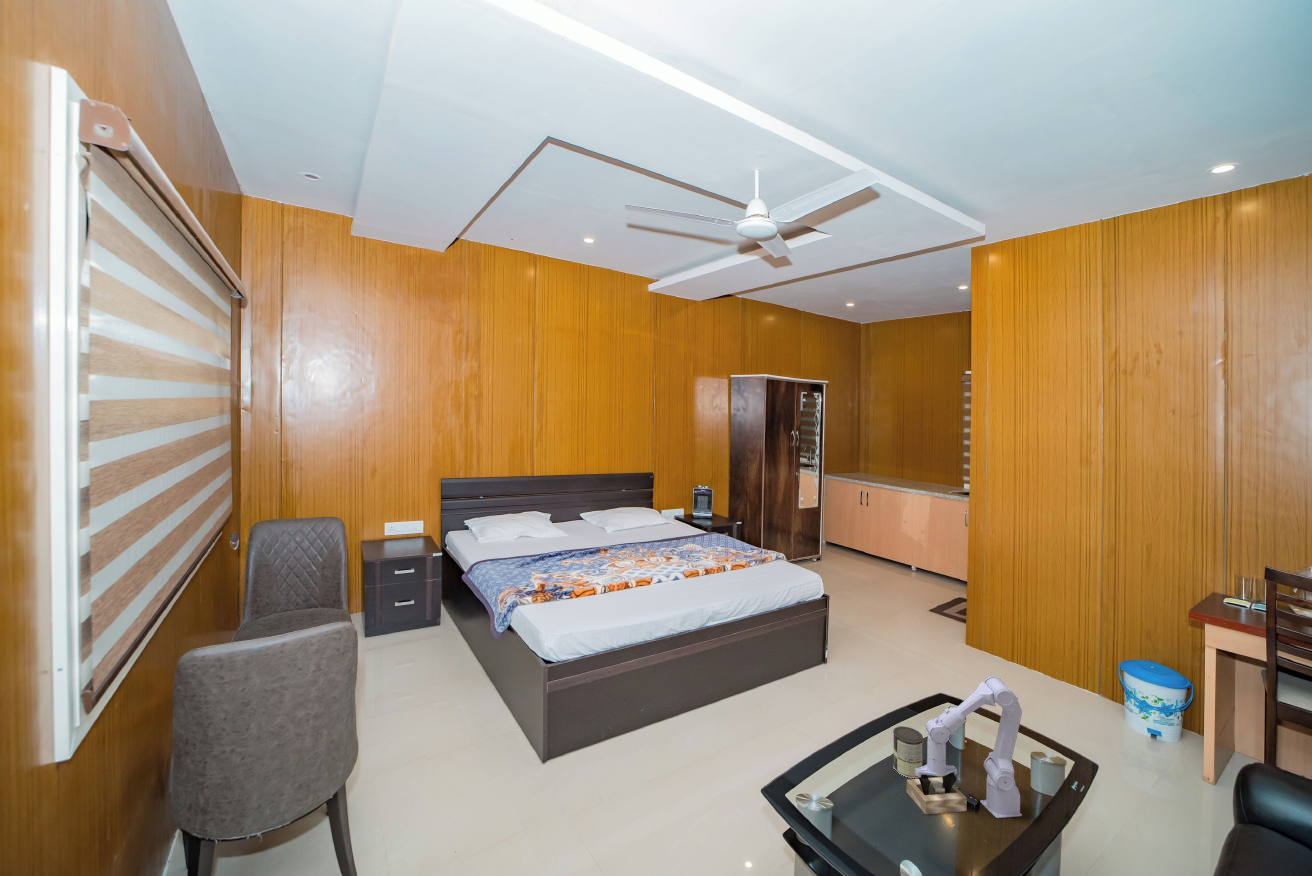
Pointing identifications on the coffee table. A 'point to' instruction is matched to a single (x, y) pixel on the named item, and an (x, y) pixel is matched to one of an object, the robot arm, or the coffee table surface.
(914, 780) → the tan wooden rectangular frame
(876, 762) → the coffee table surface
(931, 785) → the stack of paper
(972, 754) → the coffee table surface
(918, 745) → the coffee can
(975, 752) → the coffee table surface
